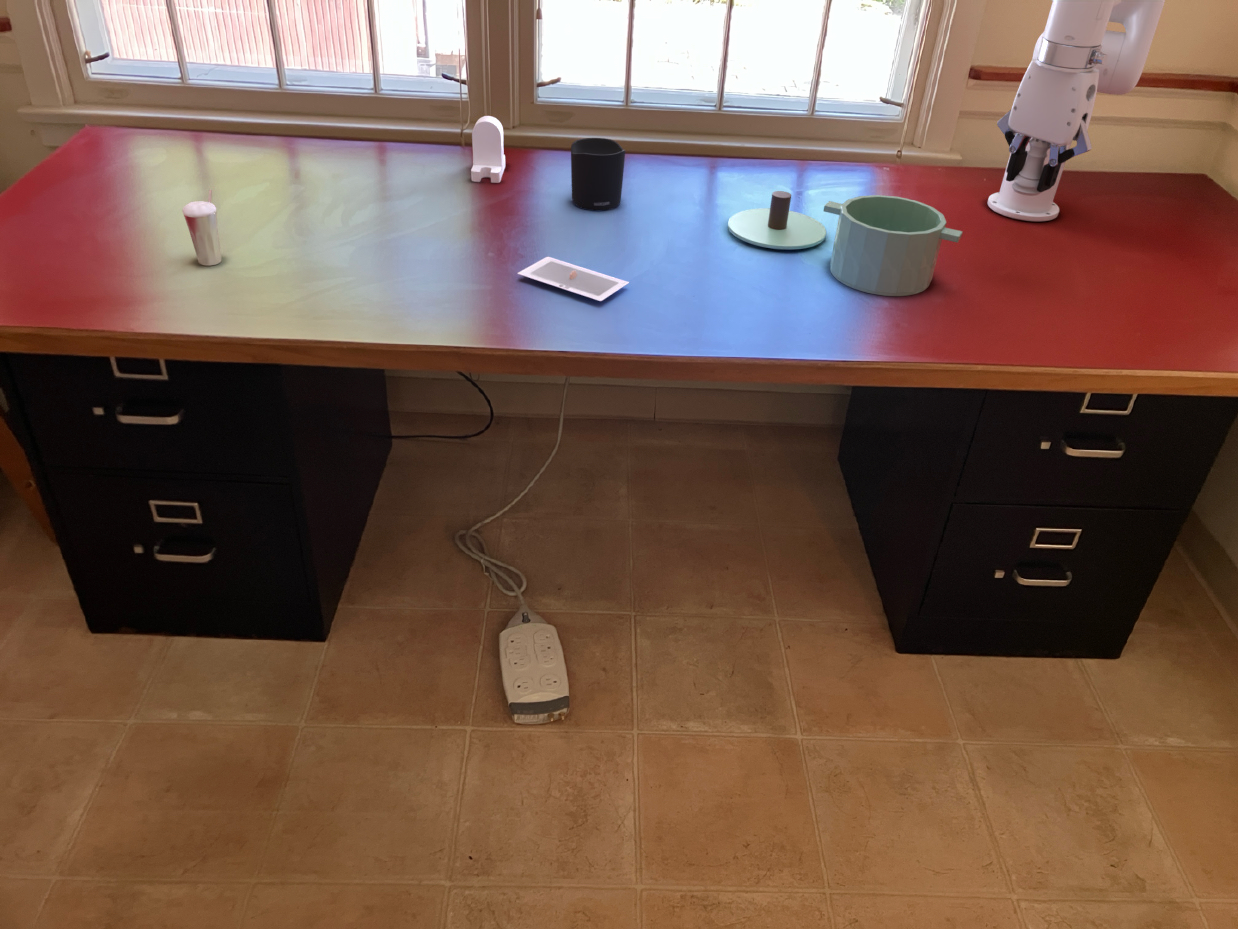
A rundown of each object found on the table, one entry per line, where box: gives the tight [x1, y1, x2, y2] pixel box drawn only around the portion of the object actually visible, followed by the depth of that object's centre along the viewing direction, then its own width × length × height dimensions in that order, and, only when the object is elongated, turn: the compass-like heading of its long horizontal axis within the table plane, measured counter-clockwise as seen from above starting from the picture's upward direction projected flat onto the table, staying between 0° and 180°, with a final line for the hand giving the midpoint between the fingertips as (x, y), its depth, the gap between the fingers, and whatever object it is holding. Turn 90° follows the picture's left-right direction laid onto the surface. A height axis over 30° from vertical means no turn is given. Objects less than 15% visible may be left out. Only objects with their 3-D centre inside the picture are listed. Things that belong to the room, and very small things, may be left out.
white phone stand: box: [470, 115, 506, 184], centre depth 179 cm, size 5×10×10 cm, turn 179°
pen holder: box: [570, 137, 626, 212], centre depth 170 cm, size 9×9×10 cm
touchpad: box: [516, 255, 630, 302], centre depth 145 cm, size 8×15×2 cm, turn 58°
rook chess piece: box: [1012, 138, 1051, 196], centre depth 141 cm, size 4×4×8 cm
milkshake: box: [181, 189, 222, 267], centre depth 143 cm, size 4×5×10 cm
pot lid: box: [727, 190, 827, 250], centre depth 163 cm, size 17×17×7 cm
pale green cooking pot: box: [823, 194, 963, 297], centre depth 151 cm, size 16×21×10 cm
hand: (1028, 183), depth 143 cm, fingers closed on rook chess piece, 4 cm apart
